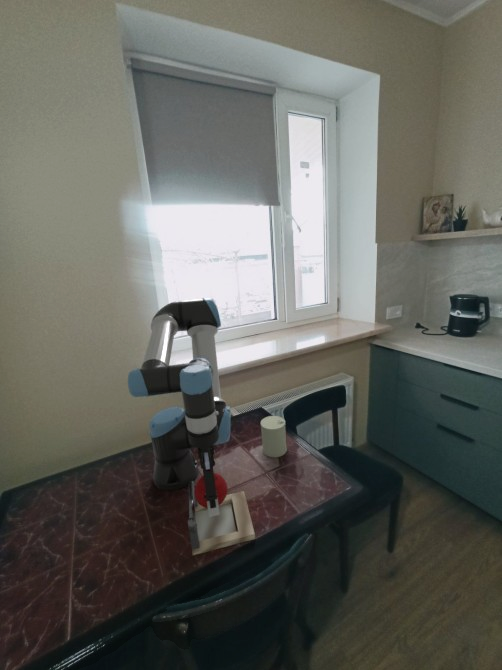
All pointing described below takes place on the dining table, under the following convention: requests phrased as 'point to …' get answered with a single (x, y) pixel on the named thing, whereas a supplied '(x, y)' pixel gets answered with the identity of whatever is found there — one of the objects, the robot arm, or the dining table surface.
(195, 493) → the tomato
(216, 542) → the beige flat square frame
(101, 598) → the dining table surface
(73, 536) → the dining table surface
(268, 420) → the can
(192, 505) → the grey curved bar
